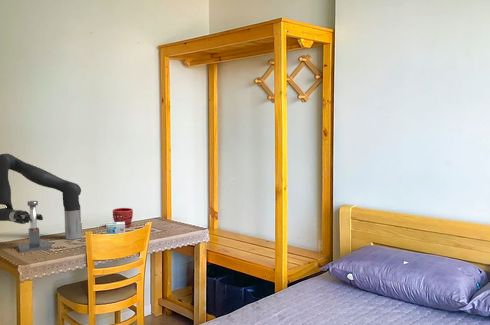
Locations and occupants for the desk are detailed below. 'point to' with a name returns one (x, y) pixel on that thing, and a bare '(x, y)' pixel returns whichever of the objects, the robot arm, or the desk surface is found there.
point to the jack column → (33, 214)
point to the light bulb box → (115, 227)
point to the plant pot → (123, 216)
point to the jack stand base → (34, 242)
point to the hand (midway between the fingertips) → (35, 219)
